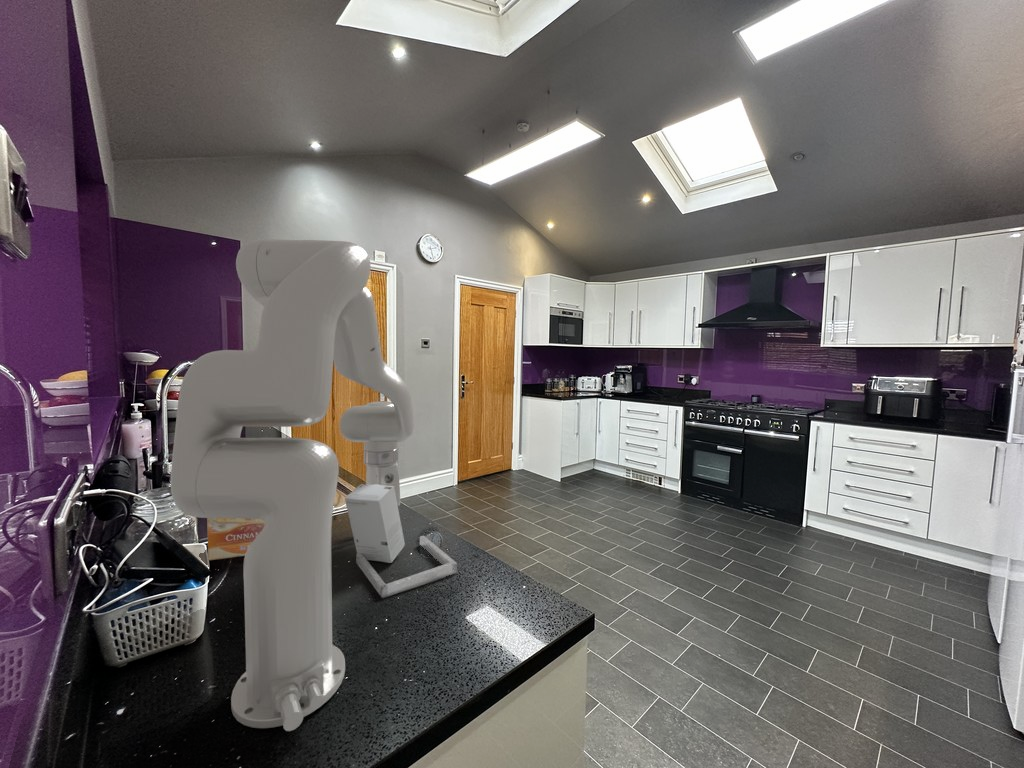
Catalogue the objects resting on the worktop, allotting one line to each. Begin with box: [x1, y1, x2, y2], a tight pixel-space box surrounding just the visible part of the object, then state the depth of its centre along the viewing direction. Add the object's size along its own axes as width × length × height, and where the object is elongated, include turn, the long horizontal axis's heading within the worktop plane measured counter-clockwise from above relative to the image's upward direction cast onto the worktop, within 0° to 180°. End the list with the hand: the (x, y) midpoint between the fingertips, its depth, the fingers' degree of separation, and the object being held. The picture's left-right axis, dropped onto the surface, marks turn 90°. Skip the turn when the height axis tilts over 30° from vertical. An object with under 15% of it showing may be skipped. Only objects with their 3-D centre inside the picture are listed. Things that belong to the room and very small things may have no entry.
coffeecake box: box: [206, 518, 265, 561], centre depth 86 cm, size 15×7×20 cm, turn 114°
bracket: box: [355, 535, 458, 599], centre depth 81 cm, size 15×15×2 cm
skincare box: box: [344, 483, 406, 564], centre depth 83 cm, size 8×6×15 cm
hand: (381, 528), depth 93 cm, fingers open, 9 cm apart
